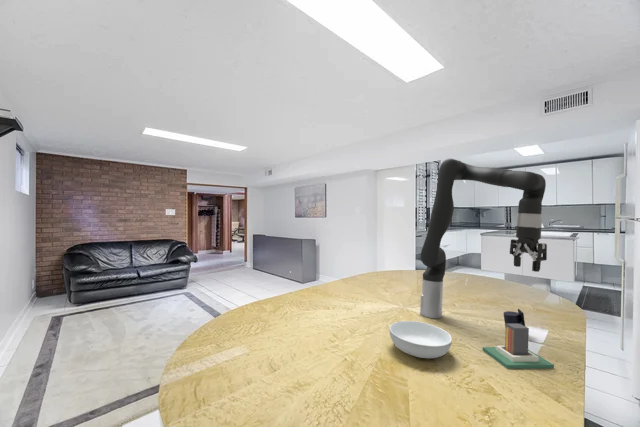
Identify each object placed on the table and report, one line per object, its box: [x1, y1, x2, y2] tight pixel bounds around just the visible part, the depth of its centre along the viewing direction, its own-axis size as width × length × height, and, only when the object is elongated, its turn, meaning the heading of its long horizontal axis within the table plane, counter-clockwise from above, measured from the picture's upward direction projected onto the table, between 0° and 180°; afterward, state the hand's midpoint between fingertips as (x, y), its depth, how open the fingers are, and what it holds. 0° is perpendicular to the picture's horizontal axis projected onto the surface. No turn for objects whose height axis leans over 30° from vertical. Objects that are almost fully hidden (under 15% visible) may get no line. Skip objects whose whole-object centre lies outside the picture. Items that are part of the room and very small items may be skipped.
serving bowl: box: [388, 320, 453, 359], centre depth 99 cm, size 21×21×7 cm
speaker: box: [503, 308, 526, 329], centre depth 117 cm, size 8×6×10 cm
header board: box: [482, 345, 555, 370], centre depth 96 cm, size 16×12×3 cm
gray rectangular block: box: [504, 324, 530, 356], centre depth 96 cm, size 5×4×10 cm
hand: (526, 268), depth 105 cm, fingers open, 8 cm apart
